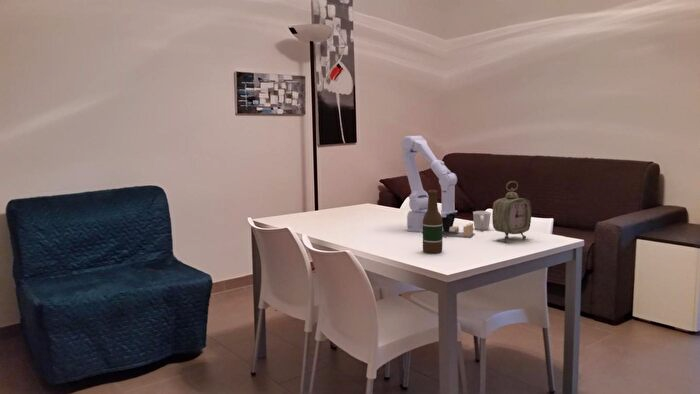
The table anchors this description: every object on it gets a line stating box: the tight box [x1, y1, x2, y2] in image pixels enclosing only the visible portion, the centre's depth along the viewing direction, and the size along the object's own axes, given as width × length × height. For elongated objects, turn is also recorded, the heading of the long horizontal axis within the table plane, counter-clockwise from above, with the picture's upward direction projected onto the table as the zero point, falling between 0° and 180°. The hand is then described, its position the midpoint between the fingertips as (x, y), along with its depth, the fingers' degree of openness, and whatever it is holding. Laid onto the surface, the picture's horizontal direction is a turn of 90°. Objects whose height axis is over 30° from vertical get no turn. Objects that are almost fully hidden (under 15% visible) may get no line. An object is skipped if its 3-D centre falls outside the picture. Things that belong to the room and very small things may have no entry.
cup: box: [472, 210, 492, 231], centre depth 253 cm, size 11×8×8 cm
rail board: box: [442, 222, 476, 239], centre depth 243 cm, size 19×8×5 cm, turn 64°
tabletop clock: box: [491, 180, 532, 243], centre depth 229 cm, size 14×9×25 cm, turn 122°
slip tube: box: [443, 225, 460, 234], centre depth 244 cm, size 11×3×3 cm, turn 64°
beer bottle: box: [422, 189, 443, 255], centre depth 211 cm, size 8×8×24 cm
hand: (447, 230), depth 244 cm, fingers open, 4 cm apart
